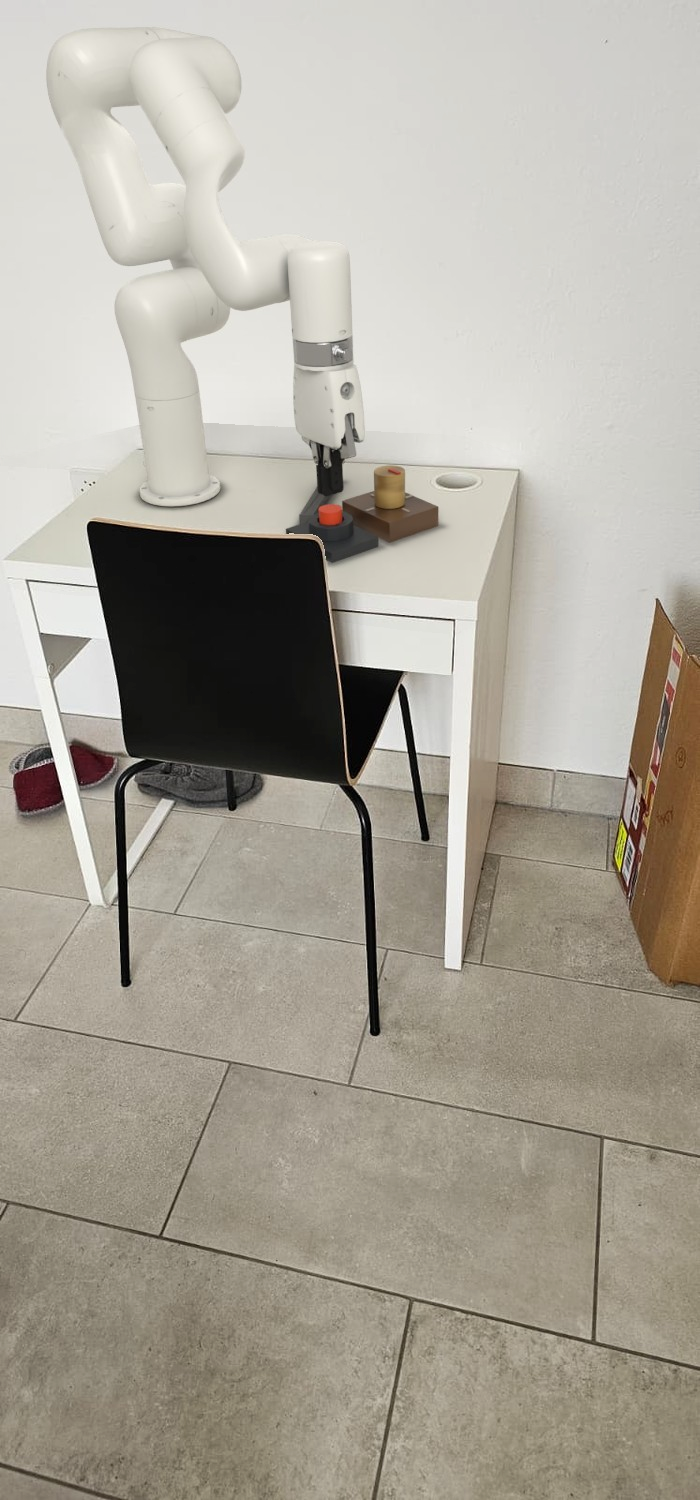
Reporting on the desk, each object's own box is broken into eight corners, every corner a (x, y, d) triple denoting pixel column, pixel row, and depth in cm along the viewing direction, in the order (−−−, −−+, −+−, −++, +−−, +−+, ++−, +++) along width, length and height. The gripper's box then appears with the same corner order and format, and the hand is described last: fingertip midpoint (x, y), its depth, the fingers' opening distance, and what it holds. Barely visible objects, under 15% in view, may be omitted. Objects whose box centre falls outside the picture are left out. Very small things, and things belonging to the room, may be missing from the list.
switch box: (286, 538, 144) (284, 515, 142) (331, 523, 148) (330, 500, 146) (332, 563, 137) (330, 539, 135) (378, 547, 141) (378, 523, 139)
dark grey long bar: (317, 530, 147) (315, 502, 144) (299, 529, 147) (297, 501, 145) (343, 482, 161) (343, 456, 159) (327, 482, 162) (326, 456, 159)
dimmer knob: (368, 502, 146) (367, 468, 143) (391, 495, 148) (391, 460, 145) (387, 511, 143) (387, 476, 140) (411, 503, 145) (411, 468, 142)
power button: (314, 521, 141) (314, 508, 140) (333, 515, 142) (332, 502, 141) (328, 528, 139) (327, 514, 138) (347, 522, 140) (346, 508, 139)
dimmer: (342, 520, 149) (341, 499, 147) (390, 504, 153) (389, 484, 151) (389, 543, 142) (389, 521, 140) (438, 526, 146) (438, 505, 144)
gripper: (383, 356, 124) (386, 500, 135) (313, 336, 134) (320, 472, 145) (334, 368, 121) (341, 515, 131) (265, 347, 131) (277, 485, 141)
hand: (330, 492), depth 138 cm, fingers closed
